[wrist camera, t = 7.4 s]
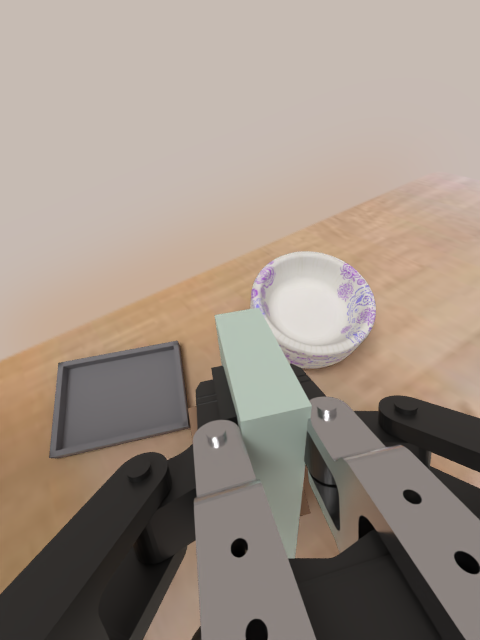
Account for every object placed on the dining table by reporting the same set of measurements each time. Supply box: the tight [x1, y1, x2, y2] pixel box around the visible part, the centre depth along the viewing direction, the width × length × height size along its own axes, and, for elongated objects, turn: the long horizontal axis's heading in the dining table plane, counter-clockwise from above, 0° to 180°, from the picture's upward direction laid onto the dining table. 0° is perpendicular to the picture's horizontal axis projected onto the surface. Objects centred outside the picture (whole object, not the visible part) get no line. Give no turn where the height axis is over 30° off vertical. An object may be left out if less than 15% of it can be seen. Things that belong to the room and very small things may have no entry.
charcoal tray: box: [49, 341, 190, 459], centre depth 33 cm, size 15×11×2 cm
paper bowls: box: [250, 251, 376, 369], centre depth 36 cm, size 15×15×8 cm
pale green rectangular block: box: [215, 308, 312, 558], centre depth 12 cm, size 2×5×11 cm, turn 12°
